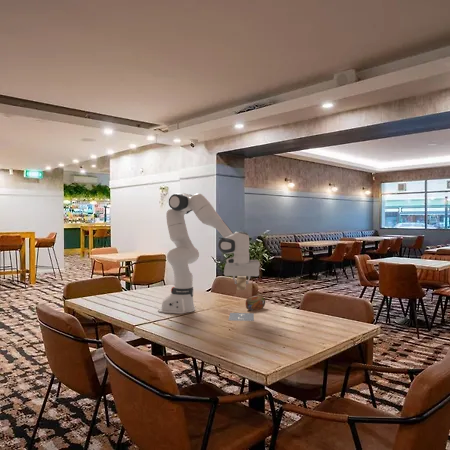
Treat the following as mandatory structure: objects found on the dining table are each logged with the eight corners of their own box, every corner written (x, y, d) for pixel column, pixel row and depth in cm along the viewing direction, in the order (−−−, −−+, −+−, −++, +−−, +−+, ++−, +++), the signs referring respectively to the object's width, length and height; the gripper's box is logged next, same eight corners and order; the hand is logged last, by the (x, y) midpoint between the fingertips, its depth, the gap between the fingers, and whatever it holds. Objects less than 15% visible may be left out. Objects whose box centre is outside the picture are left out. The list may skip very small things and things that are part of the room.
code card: (228, 320, 223) (228, 320, 223) (230, 313, 241) (230, 312, 241) (253, 321, 222) (253, 320, 222) (253, 313, 240) (253, 313, 240)
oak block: (236, 289, 225) (236, 278, 225) (237, 286, 237) (237, 275, 237) (245, 289, 225) (245, 279, 225) (246, 286, 237) (246, 276, 237)
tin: (248, 311, 245) (248, 297, 245) (244, 310, 247) (244, 297, 247) (265, 308, 254) (265, 295, 254) (262, 307, 257) (262, 294, 257)
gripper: (259, 259, 233) (259, 283, 234) (224, 259, 235) (224, 282, 235) (259, 260, 227) (259, 285, 227) (223, 260, 228) (223, 284, 229)
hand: (241, 283), depth 231 cm, fingers closed on oak block, 5 cm apart
